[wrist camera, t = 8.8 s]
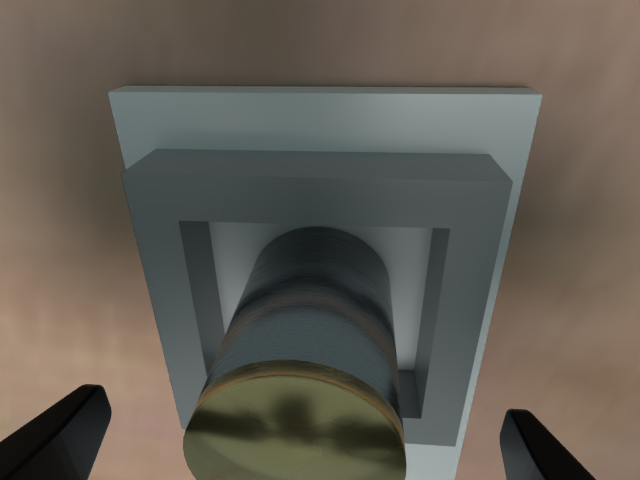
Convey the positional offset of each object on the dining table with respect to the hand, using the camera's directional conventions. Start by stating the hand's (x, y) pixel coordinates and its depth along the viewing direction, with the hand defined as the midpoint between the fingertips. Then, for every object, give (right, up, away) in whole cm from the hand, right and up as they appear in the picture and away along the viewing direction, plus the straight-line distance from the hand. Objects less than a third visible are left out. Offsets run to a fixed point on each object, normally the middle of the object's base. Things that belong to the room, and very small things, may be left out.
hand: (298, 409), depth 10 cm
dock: (+1, -1, +7) cm, 7 cm away
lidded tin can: (0, +2, +4) cm, 5 cm away
